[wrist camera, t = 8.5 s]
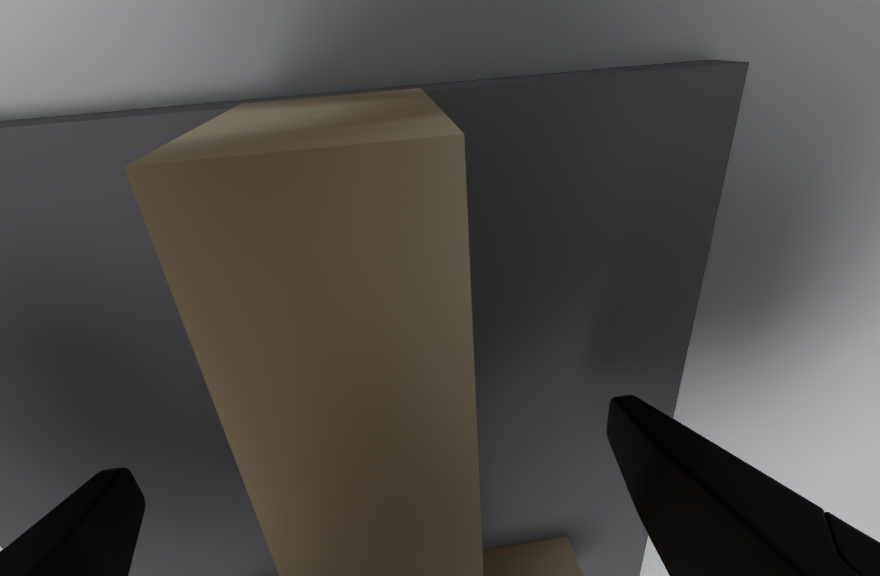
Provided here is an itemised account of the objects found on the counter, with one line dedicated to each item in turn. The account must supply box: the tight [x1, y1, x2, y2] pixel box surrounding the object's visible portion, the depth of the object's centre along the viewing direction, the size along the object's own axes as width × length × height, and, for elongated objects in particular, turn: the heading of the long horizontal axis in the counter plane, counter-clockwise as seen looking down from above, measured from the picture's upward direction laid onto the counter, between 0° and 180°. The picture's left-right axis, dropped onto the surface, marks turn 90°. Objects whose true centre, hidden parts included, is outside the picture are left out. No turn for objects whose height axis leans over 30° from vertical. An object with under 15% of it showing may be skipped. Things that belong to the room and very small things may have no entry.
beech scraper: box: [124, 88, 583, 576], centre depth 9 cm, size 9×13×4 cm
